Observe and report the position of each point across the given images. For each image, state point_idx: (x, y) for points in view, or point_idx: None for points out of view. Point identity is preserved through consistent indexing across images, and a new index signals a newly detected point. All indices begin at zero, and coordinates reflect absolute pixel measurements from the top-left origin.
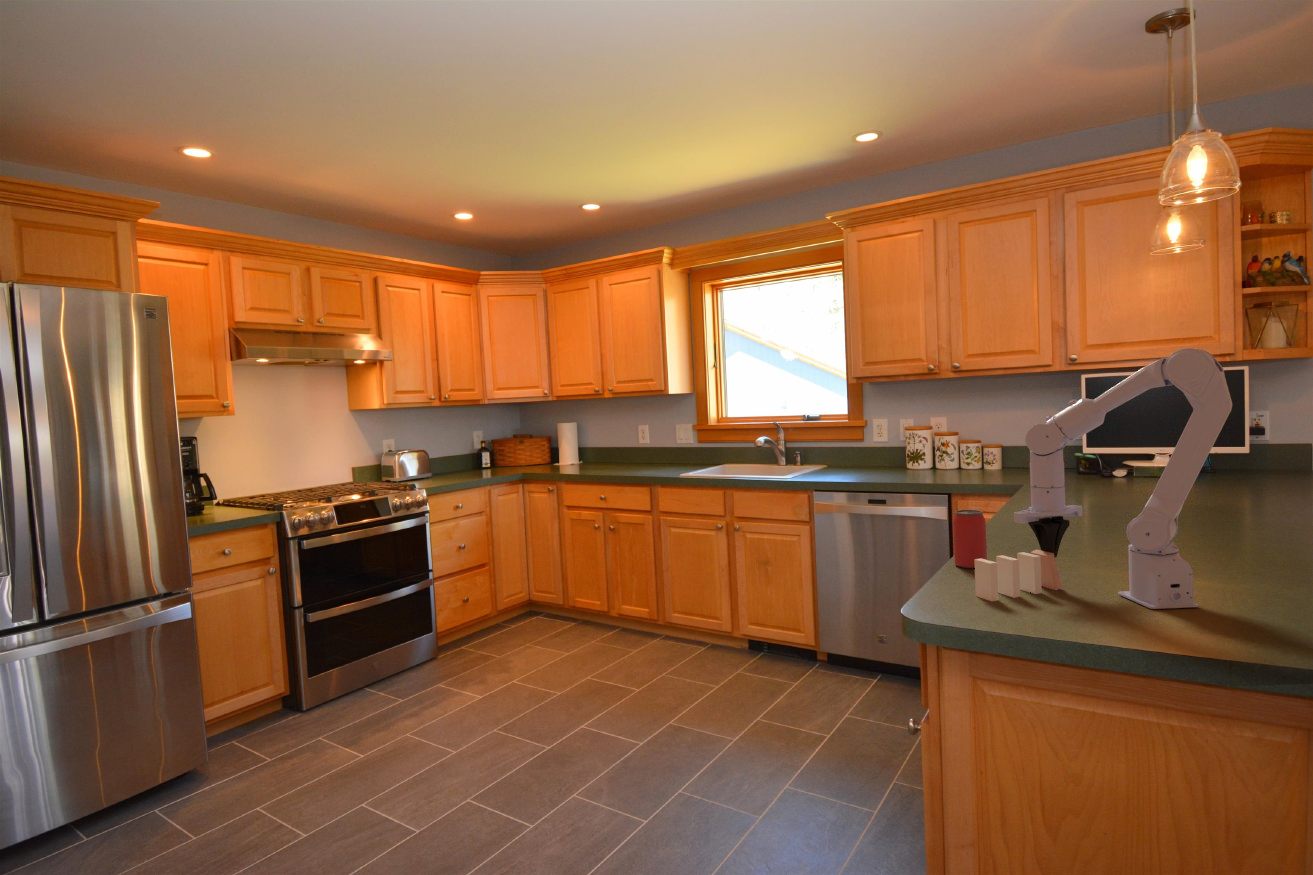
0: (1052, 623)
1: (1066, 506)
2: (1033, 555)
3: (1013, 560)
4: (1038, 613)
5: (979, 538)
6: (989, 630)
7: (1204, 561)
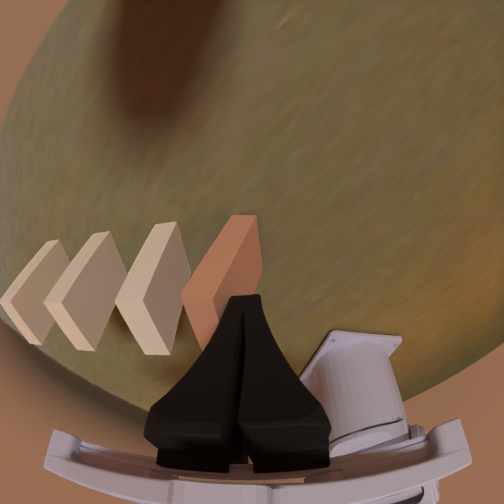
0: (124, 373)
1: (429, 478)
2: (153, 343)
3: (80, 348)
4: (121, 348)
5: None
6: (51, 357)
7: None
